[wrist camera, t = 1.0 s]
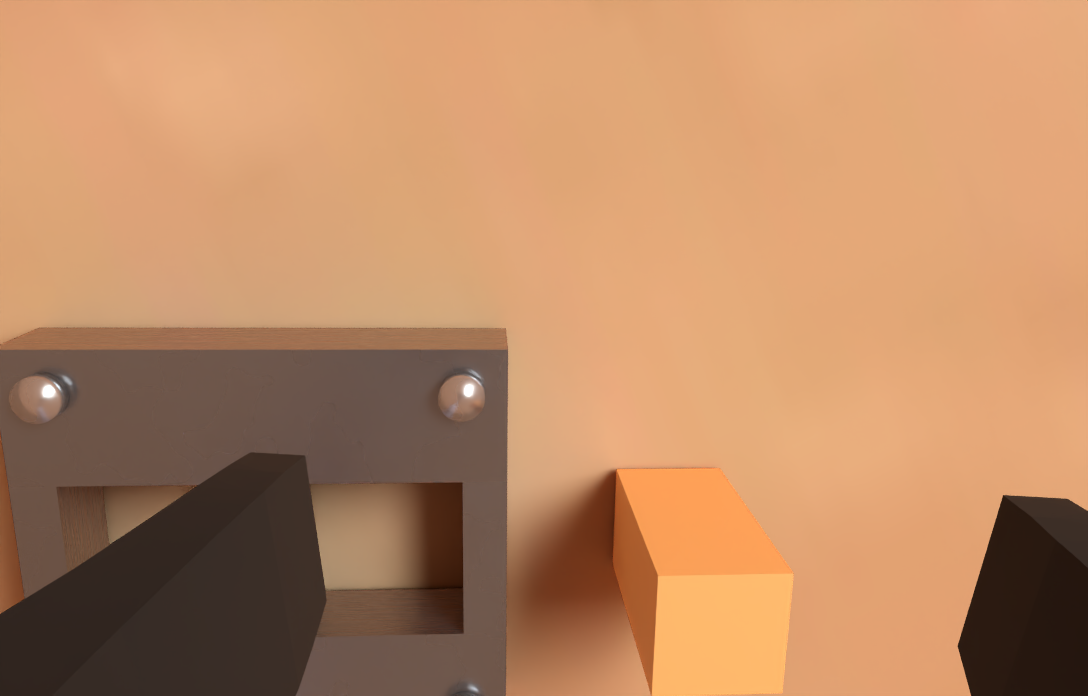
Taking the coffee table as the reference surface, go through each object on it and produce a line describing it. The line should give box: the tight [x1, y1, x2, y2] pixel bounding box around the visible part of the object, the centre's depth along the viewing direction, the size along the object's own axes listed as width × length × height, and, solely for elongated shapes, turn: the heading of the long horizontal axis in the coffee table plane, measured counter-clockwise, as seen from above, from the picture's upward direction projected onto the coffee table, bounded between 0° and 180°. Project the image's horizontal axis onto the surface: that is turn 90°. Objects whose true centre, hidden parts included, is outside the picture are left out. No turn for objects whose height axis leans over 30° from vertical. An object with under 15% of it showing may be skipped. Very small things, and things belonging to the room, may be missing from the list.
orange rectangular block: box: [613, 468, 794, 696], centre depth 23 cm, size 3×3×6 cm
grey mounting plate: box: [0, 328, 508, 696], centre depth 24 cm, size 12×13×3 cm
